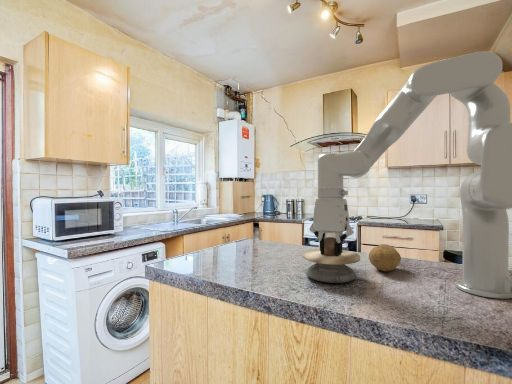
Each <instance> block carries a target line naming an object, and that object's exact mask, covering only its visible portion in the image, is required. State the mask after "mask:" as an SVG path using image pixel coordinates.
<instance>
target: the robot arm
mask: <svg viewBox="0 0 512 384" xmlns="http://www.w3.org/2000/svg"><path fill="white" fill-rule="evenodd" d="M503 68H504V67H503V60H502V58H500V56H499V55H498V54H496V53H495V52H492V51H487V50H482V51H475V52H470V53H466V54H462V55H458V56H454V57H450V58H445V59H441V60H438V61H434V62H430V63H426V64H424V65H422V66H420V67H418V68H417V69H415V70H414V71H413V72H412V74H411V75H410V76H409V78H408V79H407V81H406V83H404V86H403V87H402V88H401V89H400V90H399V91H398V93H397V94H396V95H395V96H394V98H393V99H392V100H391V101H390V102H389V104H387V106H386V107H385V108H384V109H383V110H382V112H381V113H380V114H378V117H377V118H376V119H375V120H374V121H373V123H372V126H371V128H369V130H368V132H367V134H366V135H365V136H364V138H363V139H362V140H361V141H360V143H359V144H358V146H356V148H355V149H354V150H353V151H349V152H342V153H337V152H336V153H331V152H330V153H328V152H327V153H322V154H319V155H318V157H317V198H316V199H315V202H314V207H313V208H314V209H313V217H312V218H313V219H312V220H313V222H312V223H311V226H310V227H309V231H310V232H311V233H312V234H314V236H315V237H316V238H317V241H318V242H319V241H320V251H321V254H324V238H325V236H326V232H335V235H336V243H335V256H339V255H341V253H342V250H343V242H344V241H345V240H346V239H347V238H348V237H350V236H352V235H354V233H355V232H354V230H353V228H352V227H351V225H350V214H349V207H348V201H347V198H344V197H345V196H348V195H349V191H348V190H345V188H344V177H350V178H353V179H354V178H355V179H356V178H357V179H358V178H362V177H363V176H365V175H367V173H369V171H370V170H371V168H372V167H373V165H374V164H375V163H376V162H377V161H378V160H379V159H380V157H382V156H383V154H384V153H385V152H387V150H388V149H389V148H390V147H392V145H394V143H396V142H397V141H398V140H399V139H400V138H401V137H402V136H403V135H404V134H405V133H406V131H407V130H408V129H409V128H410V127H411V125H413V123H414V122H415V121H416V120H417V119H418V117H420V116H421V114H422V113H423V112H424V111H425V110H426V108H427V107H429V106H430V104H431V103H432V102H433V100H434V99H435V98H436V97H437V96H441V95H447V94H449V95H450V96H451V97H452V98H453V99H454V100H455V99H456V100H457V101H458V102H461V103H462V104H463V106H465V108H466V109H467V112H468V131H467V133H468V134H467V144H466V145H467V146H466V153H467V158H468V159H469V160H470V161H471V162H472V163H474V164H476V165H479V166H480V171H476V172H473V173H471V174H469V175H468V176H467V177H465V178H464V180H463V181H462V182H461V186H460V189H459V197H460V203H461V209H462V210H461V212H462V278H461V279H457V280H456V281H455V287H456V288H457V289H459V290H461V291H463V292H466V293H469V294H470V295H475V296H479V297H485V298H491V299H500V300H501V299H504V300H505V299H512V278H511V276H510V273H509V252H510V250H509V243H510V241H509V239H510V235H509V232H510V231H509V230H510V224H509V216H508V210H509V209H512V122H511V103H510V100H509V97H508V96H507V94H506V93H505V91H504V90H503V89H502V88H501V87H499V86H498V85H497V84H496V83H495V82H496V80H498V78H499V77H500V76H501V74H502V71H503ZM343 232H345V233H343Z"/></svg>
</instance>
